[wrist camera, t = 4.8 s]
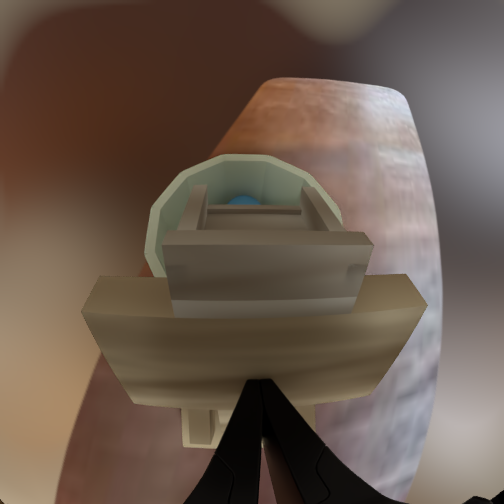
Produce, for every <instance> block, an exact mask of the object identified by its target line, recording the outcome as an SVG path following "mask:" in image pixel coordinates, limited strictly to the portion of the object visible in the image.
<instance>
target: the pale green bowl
mask: <svg viewBox="0 0 504 504" xmlns="http://www.w3.org/2000/svg"><path fill="white" fill-rule="evenodd" d="M194 185H207V192H208V205H221V204H227V203H228V202H229V201H230V200H231V199H233V198H235V197H237V196H241V195H247V196H251V197H253V198H255V199H256V200H258V201H259V202H260V204H261V205H292V206H299V205H300V197H301V188H302V186H304V187H315V189H316V190H317V191H318V193H319V194H320V195H321V197H322V198H323V199H324V201H325V202H326V203H327V205H328V206H329V207H330V209H331V210H332V212H333V213H334V214H335V216H336V217H337V219H338V220H339V221H340V223H341V224H342V226H343V223H342V218H341V213H340V209H339V207H338V206H337V205H336V204H335V202H334V201H333V200H332V199H331V198H330V196H329V195H328V194H327V193H326V192H325V190H324V189H323V188H322V187H321V186H320V185H319V183H318V182H317V181H316V180H315V179H314V178H313V177H312V175H311V174H310V175H309V173H307V172H305V171H303V170H301V169H299V168H297V167H294V166H292V165H290V164H288V163H286V162H283V161H281V160H279V159H277V158H274V157H272V156H270V155H269V156H268V155H254V154H224V155H219V156H217V157H214V158H212V159H210V160H207V161H205V162H203V163H200V164H198V165H196V166H193V167H191V168H189V169H186V170H184V171H182V173H180V174H179V175H178V176H177V177H176V178H175V179H174V180H173V181H172V183H171V184H170V185H169V186H168V187H167V189H166V190H165V191H164V192H163V193H162V194H161V196H160V197H159V198H158V199H157V201H156V202H155V203H154V204H153V206H152V208H151V211H150V217H149V224H148V230H147V236H146V243H145V250H144V254H145V258H146V260H147V262H148V264H149V267H150V269H151V271H152V273H153V275H154V277H167V275H166V269H165V264H164V258H163V251H162V242H163V240H164V237H165V235H166V232H167V230H177V228H178V225H179V222H180V220H181V217H182V214H183V212H184V209H185V206H186V204H187V201H188V198H189V196H190V193H191V191H192V188H193V186H194Z"/></svg>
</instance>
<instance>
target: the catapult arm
mask: <svg viewBox="0 0 504 504" xmlns="http://www.w3.org/2000/svg"><path fill="white" fill-rule="evenodd" d="M373 246H374V245H373V244H372V242H371V241H370V240H369V238H368V237H367V236H366V235H365V233H364V232H347V231H346V230H345V229H344V227H343V226H342V224H341V223H340V221H339V220H338V219H337V217H336V216H335V214H334V213H333V212H332V210H331V209H330V207H329V206H328V205H327V203H326V202H325V201H324V199H323V198H322V197H321V195H320V194H319V193H318V191H317V190H316V189H315V187H304V186H302V188H301V197H300V205H299V206H292V205H231V204H221V205H208V192H207V185H194V186H193V188H192V191H191V193H190V196H189V198H188V201H187V204H186V206H185V209H184V212H183V214H182V217H181V220H180V222H179V225H178V228H177V230H167V232H166V235H165V237H164V240H163V242H162V251H163V258H164V264H165V269H166V275H167V277H120V276H100V277H99V278H98V280H97V282H96V284H95V286H94V288H93V289H92V291H91V293H90V296H89V297H88V299H87V301H86V303H85V305H84V307H83V309H82V311H81V312H82V314H83V317H84V319H85V321H86V323H87V325H88V327H89V329H90V331H91V333H92V335H93V337H94V339H95V340H96V342H97V344H98V346H99V348H100V350H101V352H102V353H103V355H104V357H105V359H106V360H107V362H108V364H109V365H110V367H111V369H112V370H113V372H114V374H115V375H116V377H117V379H118V380H119V382H120V383H121V385H122V386H123V388H124V389H125V391H126V392H127V394H128V395H129V397H130V398H131V400H132V401H133V403H134V404H142V405H150V406H159V407H170V408H184V409H204V410H218V415H219V421H220V427H221V433H224V431H225V429H226V426H227V424H228V422H229V420H230V417H231V415H232V413H233V410H234V408H235V406H236V403H237V401H238V399H239V396H240V394H241V392H242V389H243V387H244V385H245V382H246V380H247V379H259V380H260V379H266V378H271V379H272V380H273V381H274V382H275V383H276V385H277V386H278V387H279V388H280V390H281V391H282V392H283V393H284V395H285V396H286V397H287V399H288V400H289V401H290V402H291V404H292V405H293V406H294V407H296V406H306V405H314V404H321V403H328V402H335V401H341V400H347V399H353V398H358V397H363V396H368V395H370V394H371V393H372V392H373V390H374V389H375V388H376V386H377V385H378V384H379V382H380V381H381V380H382V378H383V377H384V375H385V374H386V373H387V371H388V370H389V368H390V367H391V365H392V364H393V362H394V361H395V359H396V358H397V356H398V355H399V353H400V352H401V350H402V349H403V347H404V346H405V344H406V342H407V341H408V339H409V337H410V336H411V334H412V332H413V331H414V329H415V327H416V326H417V324H418V322H419V320H420V319H421V317H422V315H423V313H424V311H425V310H426V308H427V306H428V305H427V303H426V302H425V300H424V299H423V297H422V296H421V294H420V293H419V291H418V290H417V289H416V287H415V286H414V284H413V283H412V282H411V280H410V279H409V277H408V276H407V275H406V274H389V275H365V272H366V269H367V266H368V263H369V260H370V256H371V253H372V250H373Z"/></svg>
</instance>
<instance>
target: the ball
mask: <svg viewBox="0 0 504 504" xmlns="http://www.w3.org/2000/svg"><path fill="white" fill-rule="evenodd" d="M227 204H231V205H261V204H260V202H259V201H258V200H256V199H255V198H253V197H251V196H247V195H241V196H237V197H235V198H233V199H231V200H230V201H229V202H228V203H227Z"/></svg>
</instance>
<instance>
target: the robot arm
mask: <svg viewBox="0 0 504 504" xmlns="http://www.w3.org/2000/svg"><path fill="white" fill-rule="evenodd" d="M262 443H263V447H264V451H265V456H266V460H267V464H268V469H269V473H270V477H271V481H272V485H273V490H274V494H275V498H276V502H277V504H408V503H404V502H399V501H396V500H393V499H390V498H388V497H386V496H384V495H382V494H381V493H379V492H378V491H376V490H375V489H374V488H372V487H371V486H370V485H369V484H367V483H366V482H365V481H363V480H362V479H361V478H360V477H358V476H357V475H356V474H355V473H354V472H352V471H351V470H350V469H349V468H348V467H347V466H346V465H344V464H343V463H342V462H341V461H340V460H339V459H338V458H337V457H336V455H335V454H334V453H333V452H332V451H331V450H330V449H329V448H328V446H325V445H326V444H325V443H324V442H323V441H322V440H321V439H320V437H319V436H318V435H317V434H316V433H315V431H314V430H313V429H312V428H311V427H310V426H309V424H308V423H307V422H306V421H305V419H304V418H303V417H302V416H301V415H300V413H299V412H298V411H297V410H296V408H295V407H294V406H293V405H292V404H291V402H290V401H289V400H288V399H287V397H286V396H285V395H284V393H283V392H282V391H281V390H280V388H279V387H278V386H277V385H276V383H275V382H274V381H273V380H272V379H271V378H266V379H260V380H259V379H247V380H246V382H245V385H244V387H243V389H242V392H241V394H240V396H239V399H238V401H237V403H236V406H235V408H234V410H233V413H232V415H231V417H230V420H229V422H228V424H227V426H226V429H225V431H224V433H223V435H222V438H221V440H220V442H219V444H218V446H217V448H216V451H215V454H214V455H213V457H212V459H211V461H210V463H209V465H208V467H207V469H206V471H205V473H204V475H203V476H202V478H201V479H200V481H199V482H198V484H197V485H196V487H195V488H194V490H193V491H192V493H191V494H190V495H189V497H188V498H187V499H186V501H185V502H184V503H183V504H258V496H259V481H260V465H261V448H262ZM463 504H504V490H503V491H501V492H500V493H499V494H498V495H496V496H495V497H494V498H492V499H491V500H488V499H486V498H482V497H478V496H473V497H472V498H470V499H469V500H467V501H466V502H464V503H463Z"/></svg>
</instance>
